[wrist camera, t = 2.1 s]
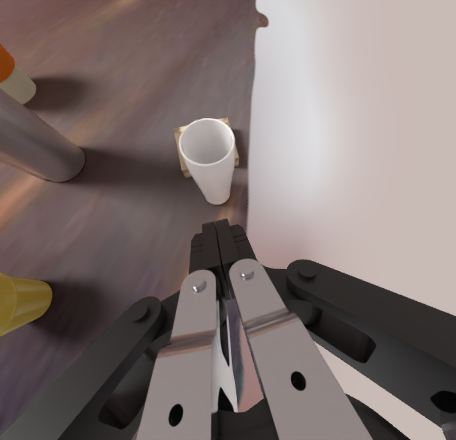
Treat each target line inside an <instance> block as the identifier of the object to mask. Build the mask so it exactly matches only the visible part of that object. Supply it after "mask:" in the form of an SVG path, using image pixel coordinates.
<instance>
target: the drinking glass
mask: <svg viewBox="0 0 456 440" xmlns="http://www.w3.org/2000/svg"><path fill="white" fill-rule="evenodd" d="M179 149H180V152H181V155H182V157H183V160H184V162H185V165H186V167H187V169H188V171H189V172H190V174H191V176H192V177H193V179H194V180H195V182H196V183H197V185H198V186H199V188H200V190H201V191H202V193H203V194H204V196H205V198H206V200H207V201H208V202H209V203H211V204H215V205H219V204H223V203H224V202H226V201H227V200H228V198H229V197H230V189H231V183H232V178H233V172H234V167H235V137H234V134H233V132H232V130H231V129H230V127H229V126H228V125H226V124H225V123H224V122H222V121H219V120H216V119H210V118H206V119H200V120H197V121H194V122H192V123H191V124H189V125H188V126H187V127H186V128H185V129H184V130H183V132H182V133H181V136H180V138H179Z"/></svg>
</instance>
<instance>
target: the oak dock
mask: <svg viewBox="0 0 456 440" xmlns="http://www.w3.org/2000/svg"><path fill="white" fill-rule="evenodd" d="M200 119H203V118H199V119H197V120H200ZM197 120H196V121H197ZM217 120H219V121H222V122H224V123H225V124H226V125H228V126H229V127H230V125H229V122H228V118H222V119H217ZM186 127H187V126H184V127H180V128H175V129H174V132H175V137H176V143H177V148H178V153H179V159H180V164H181V169H182V172H183V174H184V176H185V177H186V178H188V177H191V174H190V172H189V171H188V169H187V167H186V165H185V162H184V160H183V157H182V155H181V152H180V149H179V138H180V136H181V133H182V132H183V130H184V129H185V128H186ZM238 165H239V156H238V152H237V149H236V146H235V167H237V166H238Z"/></svg>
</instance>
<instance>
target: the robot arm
mask: <svg viewBox="0 0 456 440" xmlns="http://www.w3.org/2000/svg"><path fill="white" fill-rule="evenodd" d="M0 161H1V162H3V163H5V164H8V165H10V166H12V167H14V168H17V169H19V170H21V171H24V172H26V173H28V174H30V175H33V176H35V177H37V178H40V179H42V180H45V179H48V180H51V181H53V182H64V181H67V180H70V179H72V178H73V177H75V176H76V175H77V174H78V173H79V172H80V171H81V170H82V168H83V166H84V163H85V154H84V152H83V151H82V150H81V149H80V148H79V147H78V146H76V145H75V144H74V143H72V142H71V141H70V140H68V139H67V138H66V137H64V136H63V135H62V134H61V133H59V132H58V131H57V130H55V129H54V128H53V127H51V126H50V125H49V124H47V123H46V122H45V121H43V120H42V119H41V118H39V117H38V116H37V115H35V114H34V113H33V112H32V111H30V110H29V109H28V108H26V107H25V106H24V105H22V104H21V103H20V102H18V101H17V100H16V99H14V98H13V97H12V96H10V95H9V94H8V93H6V92H5V91H4V90H2V89H1V88H0ZM215 222H216V225H215ZM215 222H210V223H206V224H202V233H200V234H195V236H194V237H193V239H192V241H191V252H190V253H191V254H190V266H189V275H188V276H187V277H186V278H185V280H184V281H183V283H182V286H181V289H180V290H179V291H178V292H177V293H175V294H173V295H172V296H170V297H168V298H166V299H164V300H163V301H161V302H160V301H159V299H158V298H156V297H145V298H142V299H140V300H139V301H137V302H135V303H134V304H133V305H132V306H131V307H130V308H129V309H128V310H127V311H126V312H125V313H124V314H123V315H122V316H121V317H120V318H119V319H118V320H116V321H115V322H114V323H113V324H112V325H111V326H110V327H109V328H108V329H107V330H106V331H105V332H104V333H103V334H102V335H101V336H100V337H99V338H98V339H97V340H96V341H95V342H94V343H93V344H92V345H91V346H90V347H89V348H88V349H87V350H86V351H85V352H84V353H83V354H82V355H81V356H80V357H79V358H78V359H77V360H76V361H75V362H74V363H73V364H72V365H71V366H70V367H69V368H68V369H67V370H66V371H65V372H64V373H63V374H62V375H61V376H60V377H59V378H58V379H57V380H56V381H55V382H54V383H53V384H52V385H51V386H50V387H49V388H48V389H47V390H46V391H45V392H44V393H43V394H42V395H41V396H40V397H39V398H38V399H37V400H36V401H35V402H34V403H33V404H32V405H31V406H30V407H29V408H28V409H27V410H26V411H25V412H24V413H23V414H22V415H21V416H20V417H19V418H18V419H17V420H16V421H15V422H14V423H13V424H12V425H11V426H10V427H9V428H8V429H7V430H6V431H5V432H4V433H3V434H2V435H1V436H0V440H131V439H132V437H133V436H134V434H135V433H136V431H137V429H138V428H139V431H138V435H137V439H136V440H410V439H409V438H408V437H406V436H405V435H404V434H403V433H402V432H400V431H399V430H398V429H397V428H395V427H393V425H392V424H390V423H389V422H388V421H386V420H385V419H384V418H383V417H382V416H380V415H379V414H378V413H376V412H375V411H374V410H373V409H371V408H369V407H368V406H367V405H365V404H364V403H362V402H360V401H359V400H357V399H355V398H353V397H351V396H350V395H348V394H345V393H344V391H343V390H342V388H341V386H340V385H339V383H338V381H337V380H336V378H335V376H334V375H333V373H332V371H331V370H330V368H329V366H328V365H327V363H326V361H325V360H324V358H323V356H322V355H321V353H320V351H319V350H318V348H317V346H316V345H315V343H314V342H313V341H315V342H316V343H318V344H319V345H321V346H322V347H324V348H325V349H326V350H328V351H329V352H331V353H332V354H334V355H335V356H337V357H338V358H340V359H341V360H343V361H344V362H345V363H347V364H349V365H350V366H351V367H353V368H354V369H356V370H357V371H359V372H360V373H362V374H363V375H364V376H366V377H367V378H369V379H370V380H372V381H373V382H375V383H376V384H378V385H379V386H381V387H382V388H384V389H385V390H386V391H388V392H389V393H391V394H392V395H394V396H395V397H397V398H398V399H400V400H401V401H402V402H404V403H405V404H407V405H408V406H410V407H411V408H413V409H414V410H416V411H417V412H419V413H420V414H421V415H423V416H425V417H426V418H427V419H429V420H430V421H432V422H433V423H435V424H436V425H438V426H439V427H440V428H442V430H443V433H444V435H445V438H446V440H456V316H454V315H451V314H449V313H446V312H443V311H441V310H438V309H436V308H433V307H431V306H428V305H425V304H423V303H420V302H417V301H415V300H412V299H410V298H407V297H405V296H402V295H399V294H397V293H394V292H392V291H389V290H387V289H384V288H381V287H379V286H376V285H373V284H371V283H368V282H366V281H363V280H361V279H358V278H355V277H353V276H350V275H348V274H345V273H342V272H340V271H337V270H334V269H332V268H329V267H327V266H324V265H321V264H319V263H316V262H314V261H311V260H296V261H294V262H292V263H290V264H289V266H288V267H287V269H272V268H268V267H265V266H263V265H262V264H260V263H259V262H258V261H257V259H256V257H255V254H254V252H253V250H252V247H251V245H250V243H249V240H248V238H247V236H246V233H245V231H244V229H243V228H242V227H241V226H239V225H238V224H237V225H233V226H229V223H228V219H222V220H218V221H215ZM228 286H229V287H228ZM229 290H230V293H231V297H232V299H234V298H235V299H236V303H237V307H238V311H239V314H240V318H241V321H242V325H243V328H244V332H245V335H246V338H247V342H248V345H249V349H250V352H251V356H252V359H253V362H254V366H255V370H256V373H257V377H258V380H259V384H260V387H261V391H262V394H263V398H264V399H262V400H261V401H260V402H258V403H257V404H256V405H254V406H253V407H252V408H250V409H249V410H248V411H246V412H241V413H240V412H238V410H237V398H236V389H235V382H234V377H233V371H232V360H231V347H230V334H229V321H228V315H227V314H228V311H227V304H226V300H230V299H231V298H230V293H229ZM139 426H140V427H139Z"/></svg>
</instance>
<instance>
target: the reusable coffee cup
mask: <svg viewBox="0 0 456 440" xmlns="http://www.w3.org/2000/svg"><path fill="white" fill-rule="evenodd" d="M0 88H1V89H2V90H4V91H5V92H6V93H8V94H9V95H10V96H12V97H13V98H14V99H16V100H17V101H18V102H20V103H21V104H22V105H23V104H25V103H26V102H28V101H29V100H30V99H31V98H32V97H33V96H34V95H35V92H36V85H35V84H34V82H33V81H32V80H31V79H30V78H29V77H28V76H27V75H26V74H25V73H24V72H23V71H22V70H21V69H20V67H19V66H18V65H17V64H16V63H15V61H14V58H13V57H12V56H11V55H10V54H9V53H8V52H7V51H6V50H5V49H4V48H3V46H2V45H1V44H0Z"/></svg>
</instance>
